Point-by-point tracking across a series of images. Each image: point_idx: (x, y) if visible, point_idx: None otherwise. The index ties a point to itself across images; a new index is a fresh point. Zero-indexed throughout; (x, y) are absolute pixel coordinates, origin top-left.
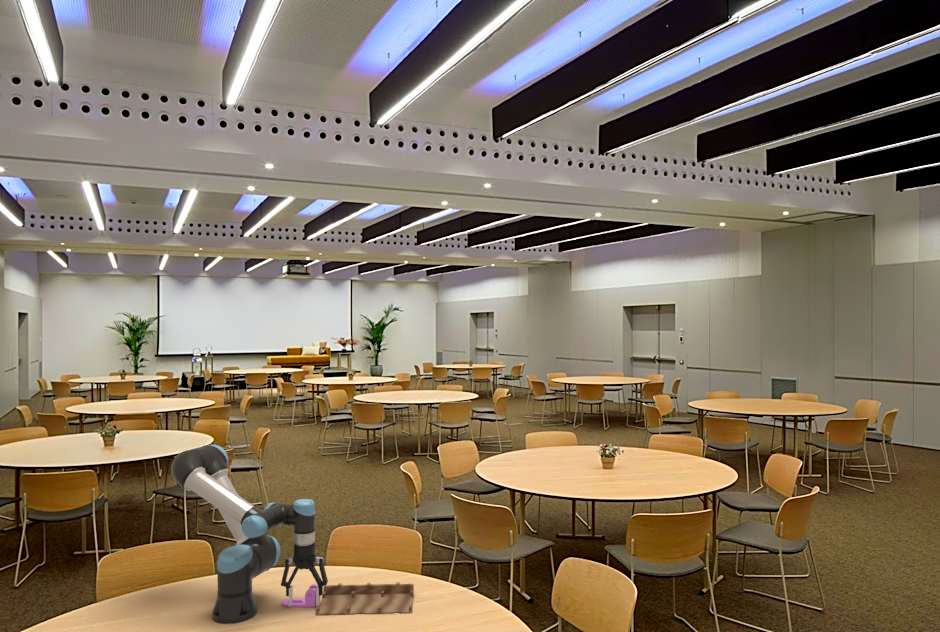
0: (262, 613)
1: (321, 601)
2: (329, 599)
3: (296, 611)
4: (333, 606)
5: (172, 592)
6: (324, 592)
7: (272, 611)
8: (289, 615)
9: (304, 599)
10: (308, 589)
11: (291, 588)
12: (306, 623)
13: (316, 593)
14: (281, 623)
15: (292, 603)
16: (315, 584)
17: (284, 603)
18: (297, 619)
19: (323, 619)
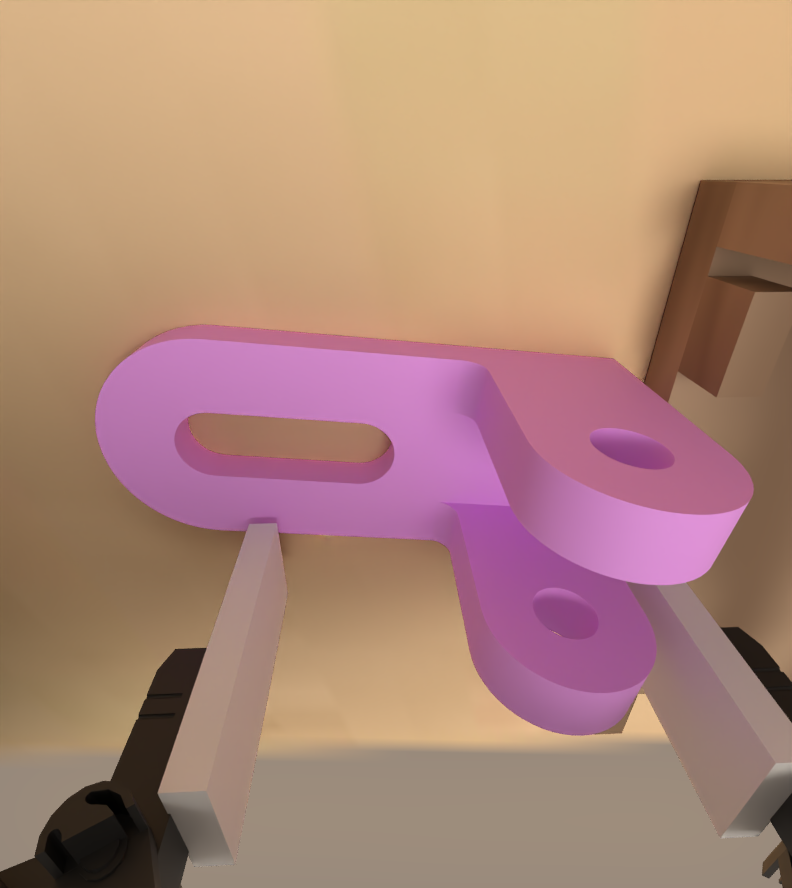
0: (18, 619)
1: None
2: (774, 416)
3: (365, 584)
4: (774, 585)
5: None
6: (769, 327)
7: (100, 585)
8: (319, 646)
9: (407, 392)
10: (542, 692)
11: (232, 815)
12: (496, 735)
13: (665, 729)
14: (299, 739)
15: (271, 502)
16: (707, 533)
17: (160, 502)
18: (413, 695)
19: None
